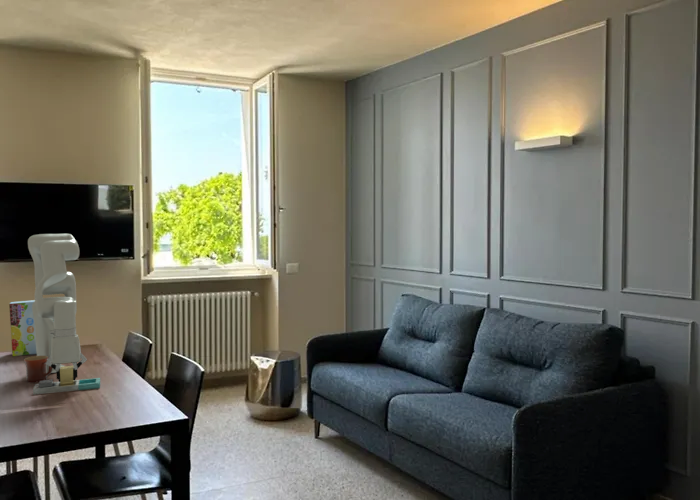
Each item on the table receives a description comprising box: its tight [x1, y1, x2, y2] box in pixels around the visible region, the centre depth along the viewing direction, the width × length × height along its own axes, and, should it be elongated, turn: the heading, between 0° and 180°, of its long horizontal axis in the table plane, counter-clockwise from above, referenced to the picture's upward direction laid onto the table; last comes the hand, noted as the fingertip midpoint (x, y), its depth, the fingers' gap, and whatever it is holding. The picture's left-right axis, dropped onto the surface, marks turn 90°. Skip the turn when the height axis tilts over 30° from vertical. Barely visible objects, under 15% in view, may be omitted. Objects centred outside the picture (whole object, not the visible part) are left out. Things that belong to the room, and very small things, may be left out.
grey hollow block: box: [38, 379, 54, 388], centre depth 247 cm, size 4×4×4 cm
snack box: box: [8, 299, 54, 357], centre depth 321 cm, size 22×9×26 cm, turn 114°
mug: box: [23, 355, 53, 384], centre depth 262 cm, size 12×9×10 cm
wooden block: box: [60, 365, 74, 386], centre depth 250 cm, size 4×4×8 cm
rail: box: [32, 377, 101, 396], centre depth 250 cm, size 23×8×3 cm, turn 109°
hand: (67, 379), depth 250 cm, fingers closed on wooden block, 4 cm apart
